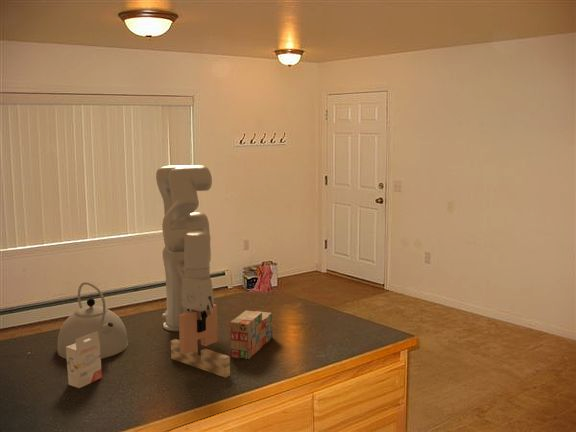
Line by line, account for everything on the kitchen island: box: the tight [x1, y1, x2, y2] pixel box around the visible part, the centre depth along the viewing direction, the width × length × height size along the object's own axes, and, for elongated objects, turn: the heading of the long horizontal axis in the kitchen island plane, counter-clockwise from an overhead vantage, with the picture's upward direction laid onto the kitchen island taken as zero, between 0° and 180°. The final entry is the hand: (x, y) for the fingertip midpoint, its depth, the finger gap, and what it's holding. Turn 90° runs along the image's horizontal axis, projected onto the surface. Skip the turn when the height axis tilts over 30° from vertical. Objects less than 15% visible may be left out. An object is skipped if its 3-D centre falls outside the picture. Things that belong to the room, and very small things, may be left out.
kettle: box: [57, 281, 129, 360], centre depth 199 cm, size 25×23×22 cm
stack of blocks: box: [229, 310, 273, 360], centre depth 201 cm, size 21×6×12 cm, turn 160°
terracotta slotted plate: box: [178, 303, 219, 355], centre depth 183 cm, size 2×14×12 cm, turn 142°
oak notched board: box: [170, 338, 231, 379], centre depth 185 cm, size 24×2×6 cm, turn 52°
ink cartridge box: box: [66, 332, 103, 389], centre depth 174 cm, size 9×5×15 cm, turn 148°
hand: (198, 330), depth 184 cm, fingers closed on terracotta slotted plate, 1 cm apart
